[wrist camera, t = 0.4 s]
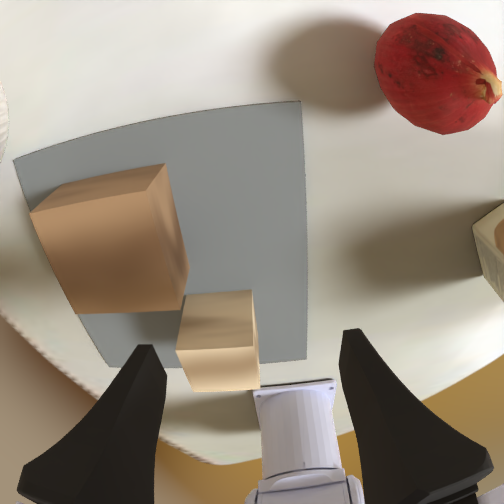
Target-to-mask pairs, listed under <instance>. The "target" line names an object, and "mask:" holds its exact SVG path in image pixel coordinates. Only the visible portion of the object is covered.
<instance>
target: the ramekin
mask: <svg viewBox="0 0 504 504" xmlns="http://www.w3.org/2000/svg"><path fill="white" fill-rule="evenodd" d="M8 130H9V111H8V103H7V99H6V95H5V91H4V88H3V86H2V84H1V82H0V163H1V160H2V157H3V155H4V151H5V148H6V144H7V138H8Z"/></svg>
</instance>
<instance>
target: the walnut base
mask: <svg viewBox="0 0 504 504" xmlns="http://www.w3.org/2000/svg"><path fill="white" fill-rule="evenodd" d="M29 215H30V217H31V220H32V222H33V225H34V227H35V230H36V232H37V235H38V237H39V240H40V242H41V244H42V247H43V249H44V251H45V253H46V256H47V258H48V260H49V262H50V265H51V267H52V269H53V271H54V273H55V275H56V277H57V279H58V281H59V283H60V285H61V287H62V289H63V291H64V293H65V295H66V297H67V299H68V301H69V303H70V305H71V307H72V308H73V310H74V312H75V314H104V313H131V312H152V311H171V310H180V309H181V305H182V300H183V296H184V291H185V287H186V282H187V278H188V274H189V269H190V266H189V262H188V258H187V254H186V250H185V246H184V242H183V238H182V233H181V229H180V225H179V221H178V217H177V212H176V208H175V203H174V199H173V195H172V190H171V186H170V181H169V176H168V172H167V167H166V163H163V164H157V165H151V166H145V167H140V168H135V169H129V170H124V171H119V172H114V173H109V174H105V175H100V176H95V177H91V178H86V179H82V180H78V181H73V182H69V183H65V184H62V185H61V186H60V187H58V188H57V189H56V190H55V191H54V192H53V193H51V194H50V195H49V196H48V197H47V198H46V199H45V200H43V201H42V202H41V203H40V204H39V205H38V206H37V207H36V208H35V209H33V210H32V211H31V212H30V213H29Z"/></svg>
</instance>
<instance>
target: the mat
mask: <svg viewBox="0 0 504 504" xmlns="http://www.w3.org/2000/svg"><path fill="white" fill-rule="evenodd" d="M13 161H14V164H15V167H16V171H17V174H18V177H19V180H20V183H21V186H22V189H23V192H24V195H25V198H26V201H27V203H28V206H29V209H30V212H31V211H32V210H33V209H35V208H36V207H37V206H38V205H39V204H40V203H41V202H42V201H43V200H45V199H46V198H47V197H48V196H49V195H50V194H51V193H53V192H54V191H55V190H56V189H57V188H58V187H60V186H61V185H62V184H65V183H69V182H73V181H78V180H82V179H86V178H91V177H95V176H100V175H105V174H109V173H114V172H119V171H124V170H129V169H135V168H140V167H145V166H151V165H157V164H163V163H166V167H167V172H168V176H169V181H170V186H171V190H172V195H173V199H174V203H175V208H176V212H177V217H178V221H179V225H180V229H181V233H182V238H183V242H184V246H185V250H186V254H187V258H188V262H189V266H190V269H189V274H188V278H187V282H186V287H185V291H184V296H183V300H182V305H181V309H180V310H171V311H152V312H131V313H104V314H78V316H79V318H80V319H81V321H82V323H83V325H84V327H85V328H86V330H87V332H88V334H89V335H90V337H91V339H92V340H93V342H94V344H95V345H96V347H97V349H98V350H99V352H100V353H101V355H102V357H103V358H104V360H105V361H106V363H107V365H108V366H109V367H117V368H122V367H123V366H124V364H125V363H126V361H127V360H128V358H129V357H130V355H131V354H132V352H133V351H134V349H135V348H136V346H137V345H138V344H153V346H154V349H155V351H156V353H157V355H158V357H159V360H160V362H161V364H162V366H163V368H183V367H182V365H181V363H180V361H179V358H178V356H177V353H176V351H175V349H176V344H177V339H178V334H179V329H180V324H181V319H182V314H183V309H184V304H185V299H186V295H190V294H203V293H216V292H228V291H239V290H250V289H252V294H253V302H254V309H255V316H256V323H257V331H258V345H259V364H265V363H277V362H287V361H296V360H305V359H307V309H308V264H307V211H306V182H305V160H304V141H303V125H302V110H301V101H290V102H275V103H263V104H253V105H243V106H234V107H226V108H219V109H211V110H204V111H198V112H192V113H186V114H180V115H174V116H169V117H163V118H158V119H153V120H148V121H144V122H139V123H135V124H130V125H126V126H122V127H117V128H113V129H109V130H105V131H102V132H98V133H94V134H90V135H87V136H83V137H80V138H76V139H73V140H70V141H66V142H63V143H60V144H57V145H53V146H50V147H47V148H44V149H41V150H38V151H36V152H33V153H30V154H27V155H24V156H22V157H19V158H16V159H15V160H13Z"/></svg>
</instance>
